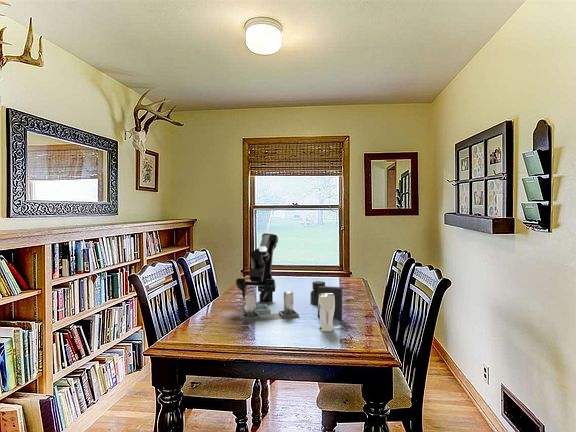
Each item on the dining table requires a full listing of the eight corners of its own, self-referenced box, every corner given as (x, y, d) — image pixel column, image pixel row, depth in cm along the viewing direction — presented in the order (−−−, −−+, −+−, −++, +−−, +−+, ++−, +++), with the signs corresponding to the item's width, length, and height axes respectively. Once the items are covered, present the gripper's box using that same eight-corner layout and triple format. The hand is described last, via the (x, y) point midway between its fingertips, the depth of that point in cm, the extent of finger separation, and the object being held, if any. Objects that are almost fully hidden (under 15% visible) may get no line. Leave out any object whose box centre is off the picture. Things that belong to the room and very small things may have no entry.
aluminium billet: (254, 316, 191) (254, 293, 191) (256, 319, 187) (256, 295, 186) (245, 317, 190) (245, 293, 190) (246, 319, 186) (246, 295, 185)
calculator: (342, 319, 191) (342, 286, 190) (340, 321, 187) (340, 288, 186) (319, 317, 194) (319, 285, 194) (317, 319, 190) (317, 287, 190)
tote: (266, 309, 208) (266, 304, 208) (270, 315, 197) (270, 309, 197) (244, 311, 205) (244, 305, 205) (247, 316, 194) (247, 311, 194)
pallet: (295, 314, 199) (295, 309, 199) (300, 320, 189) (300, 314, 189) (239, 318, 192) (239, 312, 192) (242, 324, 182) (242, 318, 182)
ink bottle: (331, 304, 218) (331, 282, 218) (320, 307, 212) (320, 284, 212) (316, 301, 225) (316, 280, 225) (306, 304, 219) (306, 282, 218)
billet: (292, 314, 195) (291, 291, 195) (294, 316, 191) (294, 293, 191) (282, 314, 194) (282, 291, 194) (285, 317, 190) (285, 293, 190)
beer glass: (317, 327, 177) (317, 292, 177) (333, 327, 178) (333, 292, 178) (319, 332, 170) (319, 296, 170) (336, 331, 171) (336, 296, 171)
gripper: (236, 261, 199) (230, 288, 188) (274, 262, 196) (270, 290, 186) (241, 274, 207) (235, 301, 196) (277, 275, 204) (273, 303, 194)
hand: (253, 299), depth 193 cm, fingers open, 9 cm apart
